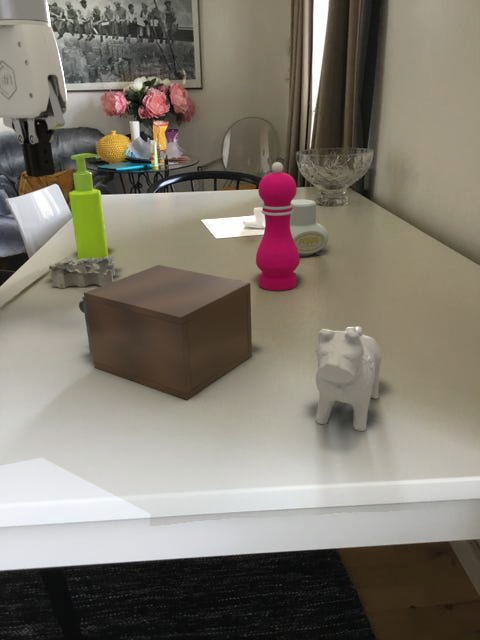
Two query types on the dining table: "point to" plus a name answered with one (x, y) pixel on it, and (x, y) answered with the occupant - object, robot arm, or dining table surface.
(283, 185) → the pepper mill
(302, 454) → the dining table surface
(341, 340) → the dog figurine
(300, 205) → the air freshener
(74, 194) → the soap dispenser
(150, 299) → the cabinet
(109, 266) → the egg carton
